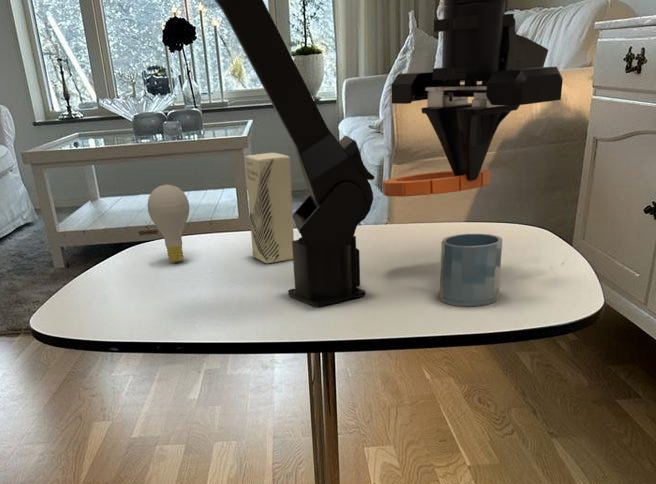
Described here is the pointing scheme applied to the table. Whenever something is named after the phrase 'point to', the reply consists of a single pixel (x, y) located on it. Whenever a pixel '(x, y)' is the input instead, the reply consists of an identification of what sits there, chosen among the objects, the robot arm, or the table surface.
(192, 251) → the table surface
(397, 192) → the ring
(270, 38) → the robot arm
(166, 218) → the light bulb
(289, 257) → the box
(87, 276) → the table surface
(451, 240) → the cup
